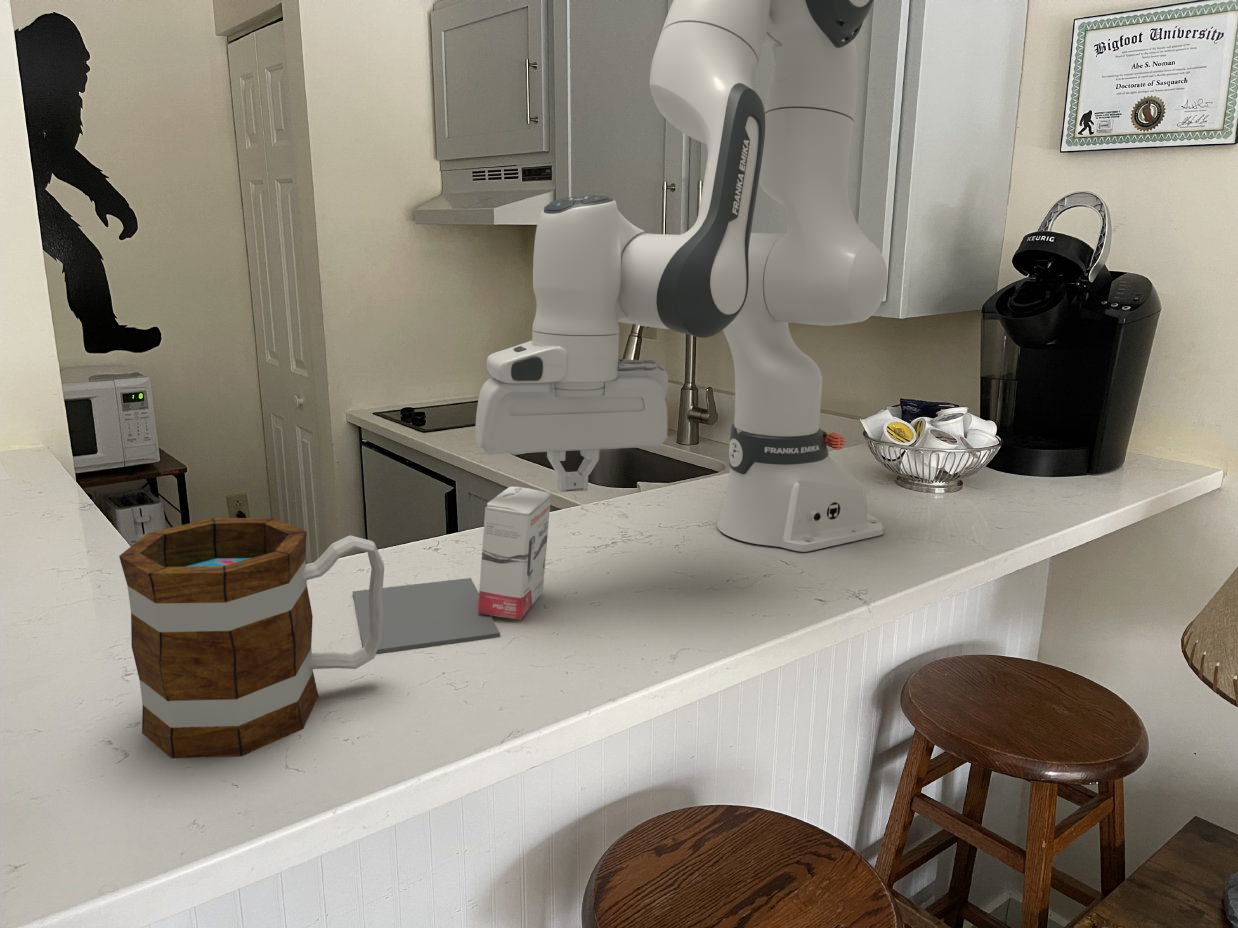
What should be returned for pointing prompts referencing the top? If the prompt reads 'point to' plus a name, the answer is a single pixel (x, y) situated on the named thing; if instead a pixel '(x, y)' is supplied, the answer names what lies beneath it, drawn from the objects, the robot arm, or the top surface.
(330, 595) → the top surface
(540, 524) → the ink box
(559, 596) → the top surface
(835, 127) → the robot arm
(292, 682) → the mug
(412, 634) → the mat
